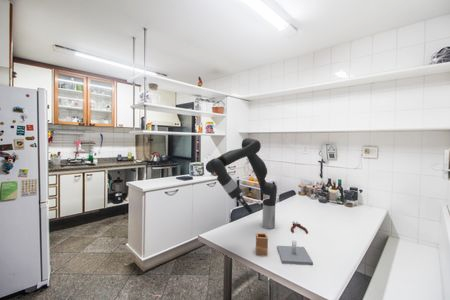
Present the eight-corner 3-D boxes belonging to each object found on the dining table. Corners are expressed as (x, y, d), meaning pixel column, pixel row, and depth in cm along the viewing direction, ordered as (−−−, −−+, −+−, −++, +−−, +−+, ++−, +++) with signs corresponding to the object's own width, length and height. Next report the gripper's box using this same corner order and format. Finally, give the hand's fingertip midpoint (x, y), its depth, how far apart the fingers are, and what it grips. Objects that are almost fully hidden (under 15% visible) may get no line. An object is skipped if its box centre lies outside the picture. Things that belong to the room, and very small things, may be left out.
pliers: (301, 223, 169) (302, 220, 169) (308, 234, 149) (308, 231, 149) (287, 222, 170) (287, 219, 170) (291, 233, 151) (291, 229, 150)
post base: (276, 247, 129) (277, 234, 129) (303, 249, 128) (304, 235, 128) (282, 263, 113) (282, 247, 113) (312, 265, 112) (313, 249, 112)
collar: (255, 249, 127) (256, 233, 127) (266, 249, 127) (266, 233, 126) (256, 254, 121) (256, 237, 120) (267, 255, 121) (267, 238, 120)
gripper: (239, 186, 113) (257, 209, 115) (234, 182, 127) (251, 202, 129) (228, 195, 112) (247, 218, 114) (225, 190, 127) (241, 210, 128)
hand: (249, 210), depth 121 cm, fingers open, 8 cm apart
